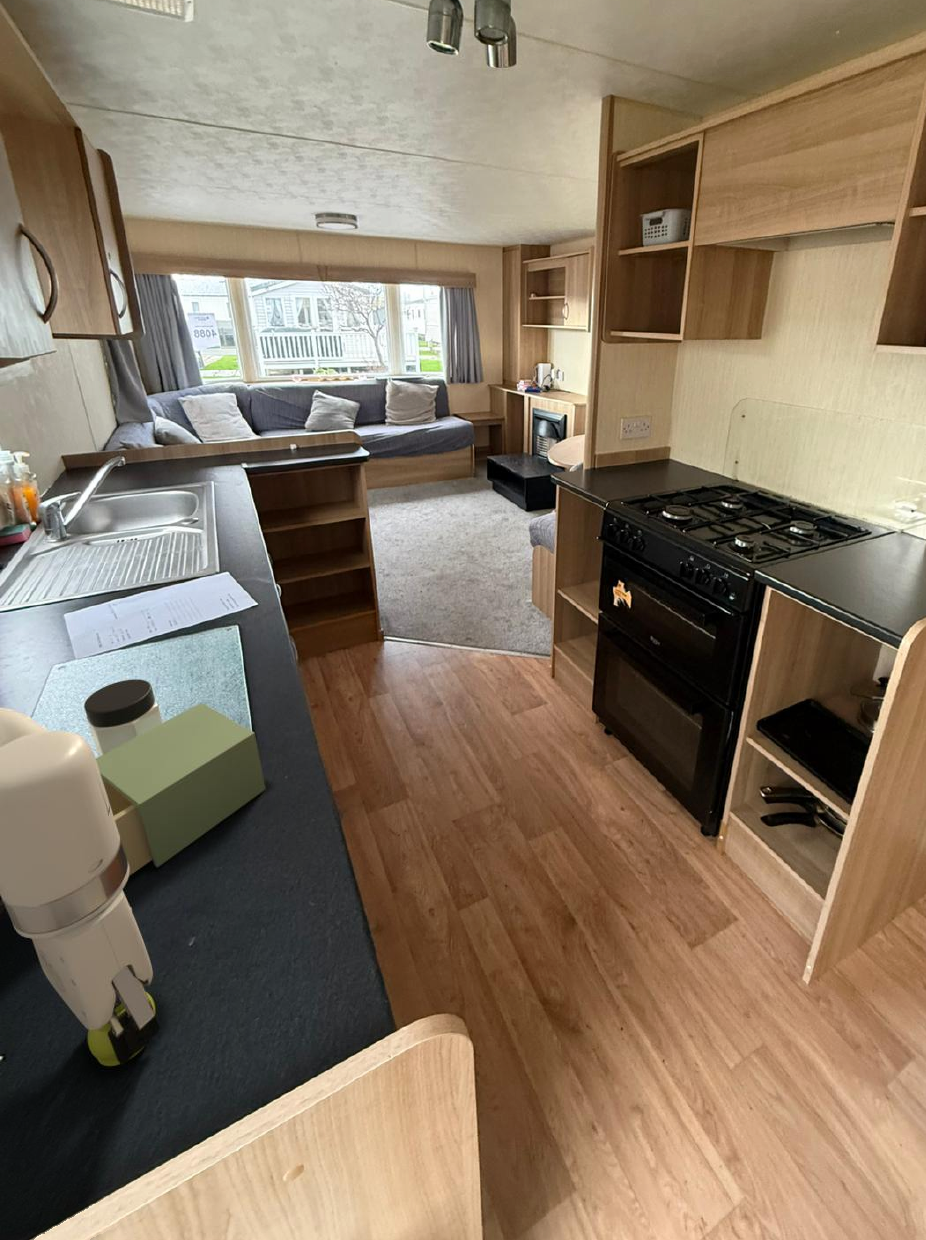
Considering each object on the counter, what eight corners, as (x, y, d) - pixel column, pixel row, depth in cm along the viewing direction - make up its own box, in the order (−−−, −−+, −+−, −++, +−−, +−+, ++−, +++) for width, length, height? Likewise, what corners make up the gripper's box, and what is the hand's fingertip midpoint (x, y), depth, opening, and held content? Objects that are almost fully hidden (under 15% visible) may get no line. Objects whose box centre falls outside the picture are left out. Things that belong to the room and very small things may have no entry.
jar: (176, 737, 92) (160, 673, 87) (164, 773, 84) (146, 705, 80) (111, 750, 89) (92, 684, 85) (93, 787, 82) (70, 718, 77)
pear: (85, 1052, 52) (62, 996, 49) (143, 1000, 56) (125, 946, 53) (112, 1088, 49) (89, 1032, 47) (171, 1031, 53) (153, 976, 51)
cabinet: (158, 872, 69) (139, 804, 65) (107, 827, 75) (86, 763, 71) (266, 794, 81) (254, 732, 77) (214, 760, 87) (201, 702, 83)
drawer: (9, 969, 58) (-19, 906, 55) (-33, 912, 63) (-60, 852, 60) (190, 839, 72) (176, 784, 69) (143, 802, 78) (128, 750, 75)
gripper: (-32, 865, 47) (33, 1010, 53) (62, 983, 38) (125, 1138, 45) (74, 804, 53) (121, 941, 59) (175, 894, 44) (217, 1042, 51)
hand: (122, 1024), depth 52 cm, fingers closed on pear, 5 cm apart
